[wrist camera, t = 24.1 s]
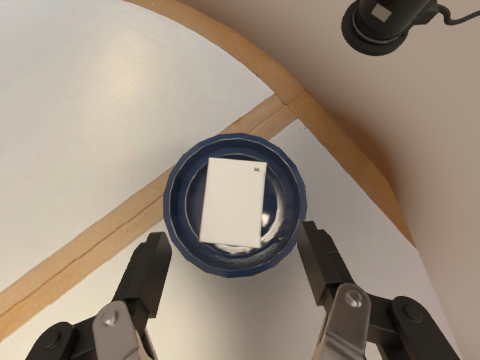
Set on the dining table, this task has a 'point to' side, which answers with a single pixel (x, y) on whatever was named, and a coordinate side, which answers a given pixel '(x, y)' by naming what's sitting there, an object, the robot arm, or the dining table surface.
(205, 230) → the small box
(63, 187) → the dining table surface
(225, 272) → the glazed bowl
